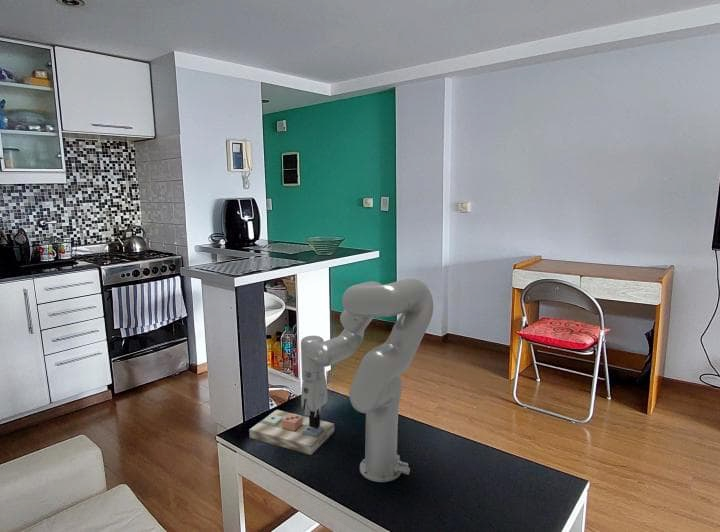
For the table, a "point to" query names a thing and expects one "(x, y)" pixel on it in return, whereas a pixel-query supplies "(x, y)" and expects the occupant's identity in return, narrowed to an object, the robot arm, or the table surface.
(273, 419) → the key one dot
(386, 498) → the table surface
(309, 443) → the key panel
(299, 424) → the key three dots
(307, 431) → the key two dots
